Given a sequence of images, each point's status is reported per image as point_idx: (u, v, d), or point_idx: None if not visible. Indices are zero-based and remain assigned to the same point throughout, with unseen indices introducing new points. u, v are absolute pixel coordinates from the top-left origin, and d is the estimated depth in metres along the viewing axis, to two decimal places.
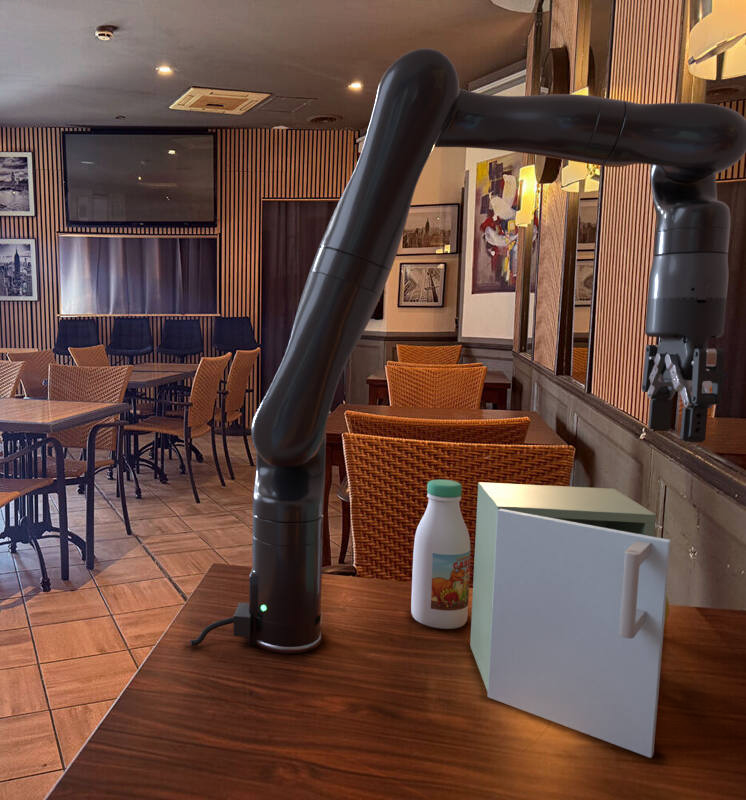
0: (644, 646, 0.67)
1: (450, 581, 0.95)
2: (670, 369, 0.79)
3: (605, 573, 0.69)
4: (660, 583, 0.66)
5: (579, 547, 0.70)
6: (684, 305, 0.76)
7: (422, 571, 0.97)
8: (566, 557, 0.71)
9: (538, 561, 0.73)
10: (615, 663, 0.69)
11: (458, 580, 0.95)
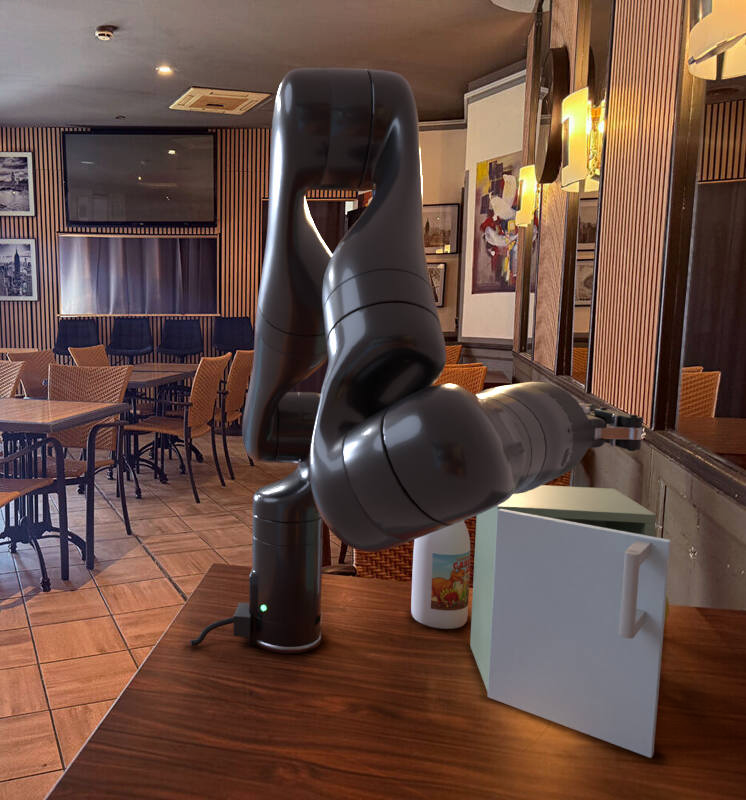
0: (644, 646, 0.67)
1: (450, 581, 0.95)
2: None
3: (605, 573, 0.69)
4: (660, 583, 0.66)
5: (579, 547, 0.70)
6: None
7: (422, 571, 0.97)
8: (566, 557, 0.71)
9: (538, 561, 0.73)
10: (615, 663, 0.69)
11: (458, 580, 0.95)
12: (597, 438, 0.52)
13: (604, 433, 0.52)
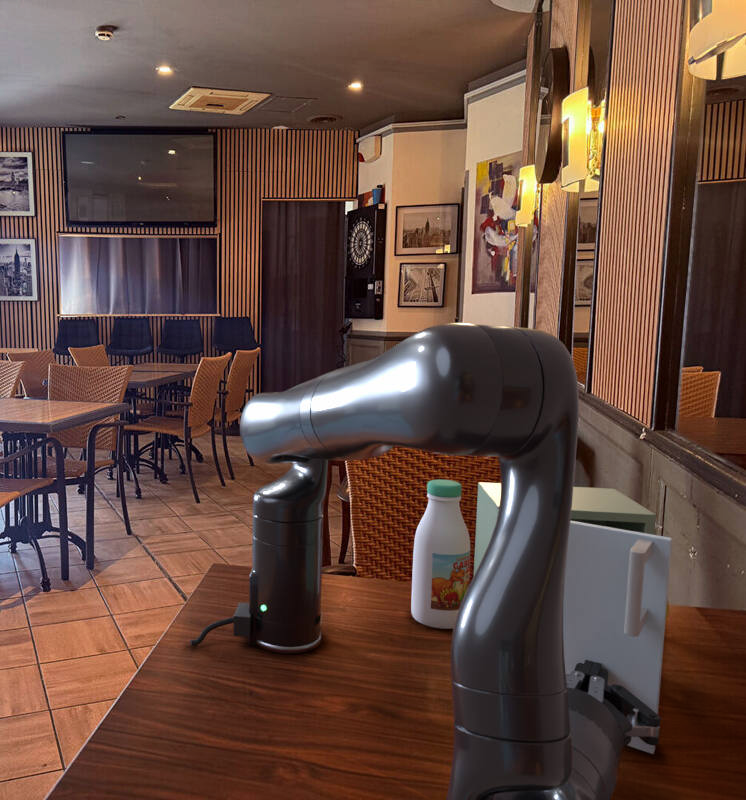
0: (646, 643, 0.68)
1: (450, 581, 0.95)
2: (570, 687, 0.64)
3: (607, 572, 0.69)
4: (662, 581, 0.66)
5: (580, 546, 0.71)
6: None
7: (422, 571, 0.97)
8: (567, 556, 0.72)
9: None
10: (617, 661, 0.69)
11: (458, 580, 0.95)
12: (624, 737, 0.60)
13: (630, 732, 0.60)
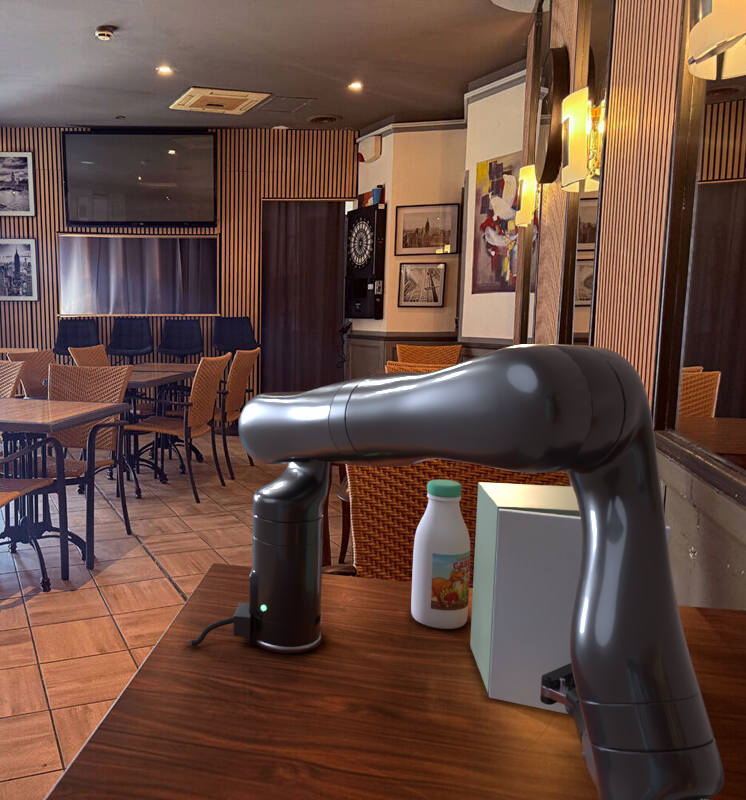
0: None
1: (450, 581, 0.95)
2: None
3: None
4: None
5: None
6: None
7: (422, 571, 0.97)
8: (571, 551, 0.73)
9: (542, 557, 0.74)
10: None
11: (458, 580, 0.95)
12: None
13: None
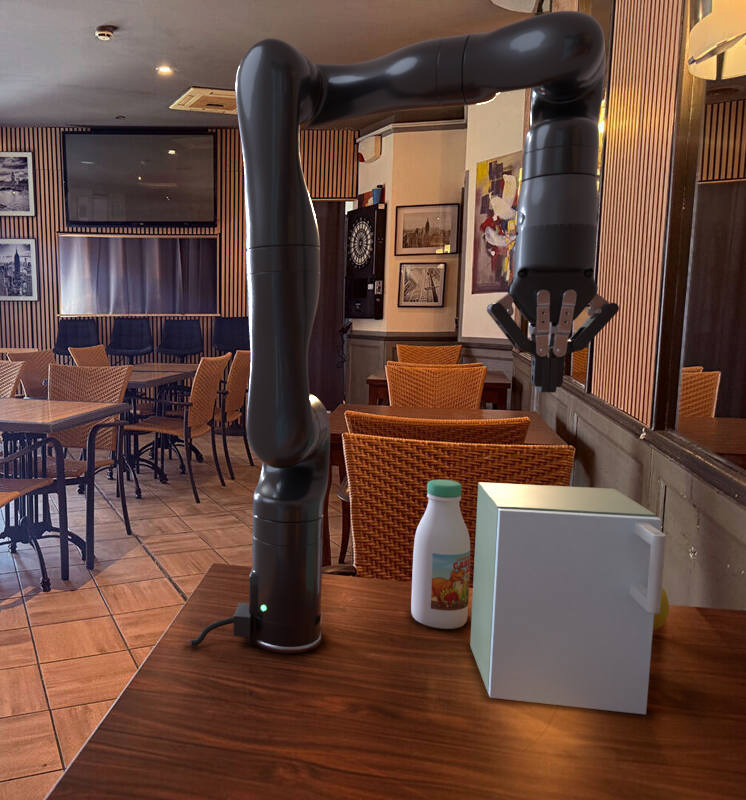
0: (640, 616, 0.74)
1: (450, 581, 0.95)
2: None
3: (606, 556, 0.74)
4: None
5: (582, 535, 0.74)
6: None
7: (422, 571, 0.97)
8: (569, 547, 0.75)
9: (542, 555, 0.75)
10: (615, 637, 0.75)
11: (458, 580, 0.95)
12: None
13: None
